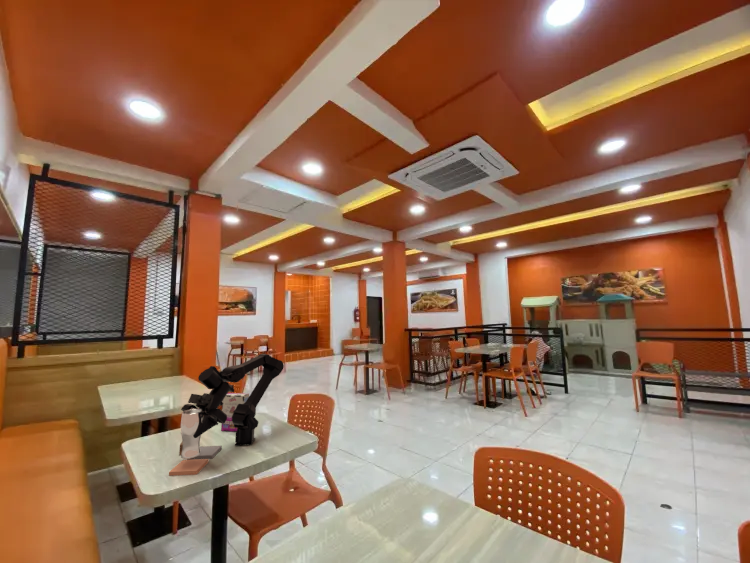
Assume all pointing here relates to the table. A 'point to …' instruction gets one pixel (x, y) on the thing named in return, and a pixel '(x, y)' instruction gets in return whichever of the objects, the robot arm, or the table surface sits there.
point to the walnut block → (181, 448)
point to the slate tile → (207, 452)
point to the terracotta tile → (189, 467)
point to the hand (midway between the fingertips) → (188, 436)
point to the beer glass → (191, 432)
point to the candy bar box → (232, 409)
